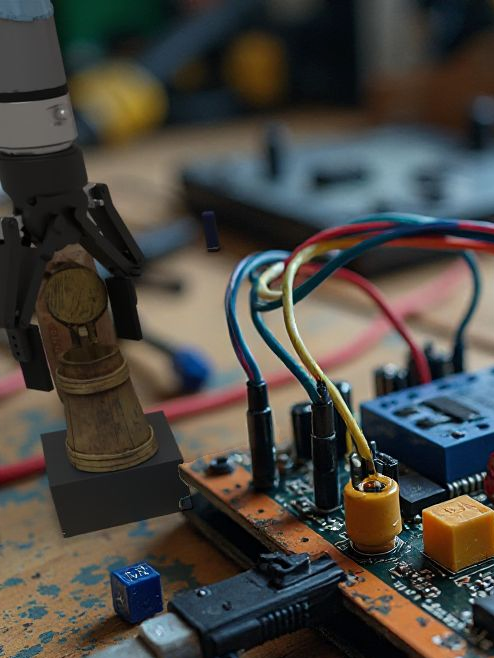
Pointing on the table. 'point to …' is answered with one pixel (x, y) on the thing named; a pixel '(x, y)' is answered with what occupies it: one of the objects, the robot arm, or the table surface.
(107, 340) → the block
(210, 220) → the eraser
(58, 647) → the table surface
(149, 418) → the riser block
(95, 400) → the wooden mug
